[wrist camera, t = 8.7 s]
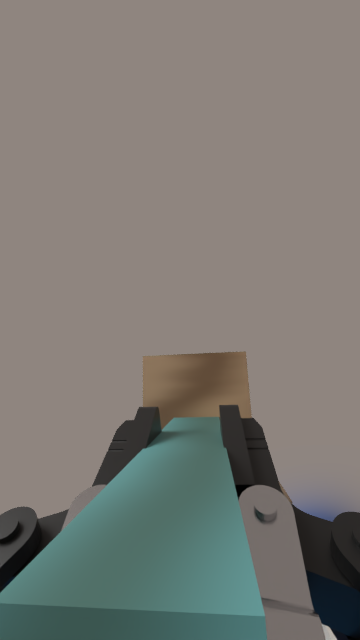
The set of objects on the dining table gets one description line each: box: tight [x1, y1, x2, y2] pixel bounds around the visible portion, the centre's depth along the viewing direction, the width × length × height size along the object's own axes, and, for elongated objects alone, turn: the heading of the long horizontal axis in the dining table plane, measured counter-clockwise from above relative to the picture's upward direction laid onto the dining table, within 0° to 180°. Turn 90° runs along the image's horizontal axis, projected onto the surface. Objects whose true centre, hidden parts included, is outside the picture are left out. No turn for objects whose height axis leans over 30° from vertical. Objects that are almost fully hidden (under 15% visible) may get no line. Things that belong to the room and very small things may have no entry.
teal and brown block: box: [0, 352, 267, 640], centre depth 12 cm, size 6×20×6 cm, turn 174°
